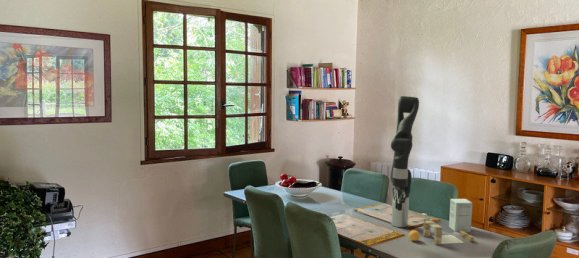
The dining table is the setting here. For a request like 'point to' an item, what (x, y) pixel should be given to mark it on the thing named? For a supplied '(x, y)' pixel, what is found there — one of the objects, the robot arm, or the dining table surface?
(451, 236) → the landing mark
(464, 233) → the stopper wall
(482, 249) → the dining table surface
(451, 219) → the supplement box
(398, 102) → the robot arm
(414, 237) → the ball
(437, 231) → the bridge
